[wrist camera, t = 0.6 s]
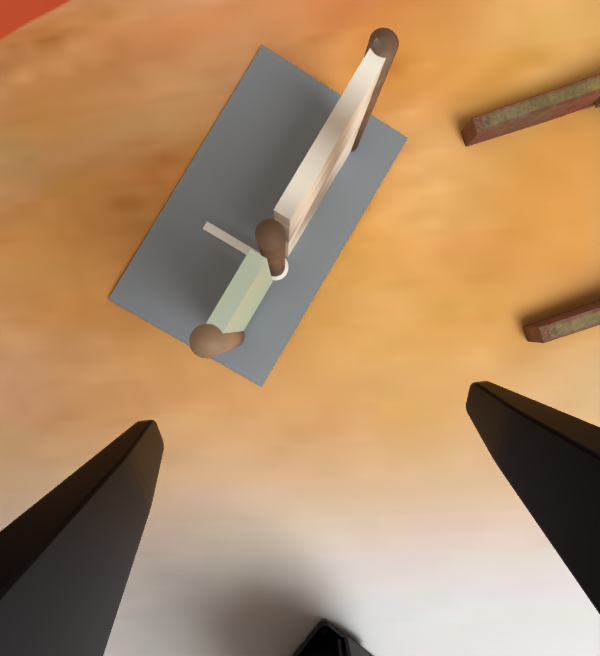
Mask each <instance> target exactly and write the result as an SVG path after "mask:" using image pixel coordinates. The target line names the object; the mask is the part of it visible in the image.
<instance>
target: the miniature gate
mask: <svg viewBox="0 0 600 656" xmlns="http://www.w3.org/2000/svg"><path fill="white" fill-rule="evenodd" d="M593 105H595V107H596V108H597V107H600V74H599V75H596V76H593V77H590V78H587V79H584V80H581V81H578V82H576V83H573V84H570V85H567V86H564V87H561V88H558V89H555V90H553V91H550V92H547V93H544V94H541V95H538V96H535V97H532V98H529V99H527V100H524V101H521V102H518V103H515V104H512V105H509V106H506V107H504V108H501V109H498V110H495V111H492V112H489V113H486V114H483V115H480V116H478V117H475V118H472V119H471V121H470V122H469V123H468V124H467V125H466V127H465V128H464V129H463V130H462V131H461V133H462V136H463V139H464V142H465V145H466V147H467V146H470V145H473V144H476V143H479V142H483V141H486V140H489V139H492V138H495V137H499V136H502V135H505V134H508V133H511V132H515V131H518V130H521V129H524V128H527V127H530V126H534V125H537V124H540V123H543V122H546V121H549V120H552V119H555V118H558V117H561V116H564V115H567V114H569V113H572V112H575V111H578V110H581V109H584V108H587V107H590V106H593ZM597 325H600V300H599V301H596V302H593V303H590V304H587V305H584V306H581V307H579V308H576V309H573V310H570V311H567V312H564V313H561V314H559V315H556V316H553V317H550V318H547V319H544V320H542V321H539V322H536V323H533V324H530V325H527V326H524V327H523V328H524V331H525V334H526V337H527V340H528V341H529V342H539V343H545V342H548V341H551V340H554V339H557V338H560V337H564V336H567V335H570V334H573V333H576V332H579V331H582V330H585V329H588V328H591V327H594V326H597Z"/></svg>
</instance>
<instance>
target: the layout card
mask: <svg viewBox="0 0 600 656" xmlns="http://www.w3.org/2000/svg"><path fill="white" fill-rule="evenodd" d="M340 97H341V95H340V94H338V93H337V92H335V91H333V90H332V89H330V88H329V87H327V86H326V85H324V84H323V83H321V82H319V81H318V80H316V79H315V78H313V77H312V76H310V75H308V74H307V73H305V72H304V71H302V70H301V69H299V68H298V67H296V66H294V65H293V64H291V63H290V62H288V61H287V60H285V59H283V58H282V57H280V56H279V55H277V54H276V53H274V52H273V51H271V50H269V49H268V48H266V47H265V46H263V45H262V46H261V48H260V50H259V51H258V53H257V55H256V56H255V58H254V59H253V61H252V63H251V64H250V66H249V68H248V69H247V71H246V73H245V74H244V76H243V78H242V79H241V81H240V83H239V84H238V86H237V88H236V89H235V91H234V92H233V94H232V96H231V97H230V99H229V101H228V102H227V104H226V106H225V107H224V109H223V111H222V112H221V114H220V116H219V117H218V119H217V121H216V122H215V124H214V125H213V127H212V129H211V130H210V132H209V134H208V135H207V137H206V139H205V140H204V142H203V144H202V145H201V147H200V149H199V150H198V152H197V154H196V155H195V157H194V158H193V160H192V162H191V163H190V165H189V167H188V168H187V170H186V172H185V173H184V175H183V177H182V178H181V180H180V182H179V183H178V185H177V187H176V188H175V190H174V191H173V193H172V195H171V196H170V198H169V200H168V201H167V203H166V205H165V206H164V208H163V210H162V211H161V213H160V215H159V216H158V218H157V220H156V221H155V223H154V224H153V226H152V228H151V229H150V231H149V233H148V234H147V236H146V238H145V239H144V241H143V243H142V244H141V246H140V248H139V249H138V251H137V253H136V254H135V256H134V257H133V259H132V261H131V262H130V264H129V266H128V267H127V269H126V271H125V272H124V274H123V276H122V277H121V279H120V281H119V282H118V284H117V286H116V287H115V289H114V290H113V292H112V294H111V295H110V297H109V300H110V301H112V302H114V303H116V304H117V305H119V306H121V307H123V308H124V309H126V310H128V311H130V312H131V313H133V314H135V315H137V316H138V317H140V318H142V319H144V320H145V321H147V322H149V323H151V324H152V325H154V326H156V327H158V328H159V329H161V330H163V331H165V332H166V333H168V334H170V335H172V336H173V337H175V338H177V339H179V340H180V341H182V342H184V343H186V344H187V345H189V346H190V344H189V338H190V334H191V332H192V331H193V330H194V329H195V328H196V327H197V326H199V325H201V324H206V322H207V321H208V319H209V317H210V316H211V314H212V312H213V311H214V309H215V307H216V306H217V304H218V302H219V301H220V299H221V297H222V296H223V294H224V292H225V291H226V289H227V287H228V286H229V284H230V282H231V280H232V279H233V277H234V275H235V274H236V272H237V270H238V269H239V267H240V265H241V264H242V262H243V260H244V259H245V257H246V255H247V254H248V252H249V250H250V249H251V250H253V251H255V252H256V253H258V254H260V251H259V247H258V244H257V241H256V238H255V230H256V227H257V226H258V224H259V223H260V222H262V221H263V220H266V219H274V208H275V207H276V205H277V203H278V202H279V200H280V198H281V197H282V195H283V193H284V191H285V190H286V188H287V186H288V185H289V183H290V181H291V180H292V178H293V176H294V175H295V173H296V171H297V170H298V168H299V166H300V165H301V163H302V161H303V160H304V158H305V156H306V155H307V153H308V151H309V150H310V148H311V146H312V144H313V143H314V141H315V139H316V138H317V136H318V134H319V133H320V131H321V129H322V128H323V126H324V124H325V123H326V121H327V119H328V118H329V116H330V114H331V113H332V111H333V109H334V108H335V106H336V104H337V103H338V101H339V99H340ZM406 140H407V137H405V136H404V135H402V134H401V133H399V132H398V131H396V130H394V129H393V128H391V127H390V126H388V125H387V124H385V123H383V122H382V121H380V120H379V119H377V118H376V117H374V116H373V115H370V118H369V120H368V123H367V125H366V127H365V130H364V132H363V135H362V137H361V140H360V142H359V145H358V147H357V149H356V150H355V151H353V152H350V153H349V155H348V157H347V158H346V160H345V162H344V164H343V165H342V167H341V169H340V170H339V172H338V174H337V175H336V177H335V179H334V180H333V182H332V184H331V186H330V187H329V189H328V191H327V192H326V194H325V196H324V197H323V199H322V201H321V202H320V204H319V206H318V207H317V209H316V211H315V213H314V214H313V216H312V218H311V219H310V221H309V223H308V224H307V226H306V228H305V229H304V231H303V233H302V235H301V236H300V238H299V240H298V241H297V243H296V245H295V246H294V248H293V250H292V251H291V253H290V255H289V257H286V256H285V270H284V272H283V273H282V274H281V275H280V276H277V277H273V276H271V277H272V281H273V282H272V284H271V286H270V287H269V289H268V291H267V292H266V294H265V296H264V297H263V299H262V301H261V303H260V304H259V306H258V308H257V309H256V311H255V313H254V314H253V316H252V318H251V319H250V321H249V323H248V324H247V326H246V328H245V330H244V333H245V338H244V341H243V343H242V344H241V345H239V346H237V347H235V348H233V349H230V350H228V351H226V352H224V353H221V354H219V355H217V356H214V357H211V358H212V359H214V360H215V361H217V362H219V363H221V364H222V365H224V366H226V367H228V368H229V369H231V370H233V371H235V372H236V373H238V374H240V375H242V376H243V377H245V378H247V379H249V380H250V381H252V382H254V383H256V384H257V385H259V386H261V387H262V385H263V383H264V382H265V380H266V378H267V377H268V375H269V373H270V371H271V370H272V368H273V366H274V365H275V363H276V361H277V359H278V358H279V356H280V354H281V353H282V351H283V349H284V348H285V346H286V344H287V342H288V341H289V339H290V337H291V336H292V334H293V332H294V331H295V329H296V327H297V325H298V324H299V322H300V320H301V319H302V317H303V315H304V314H305V312H306V310H307V308H308V307H309V305H310V303H311V302H312V300H313V298H314V296H315V295H316V293H317V291H318V290H319V288H320V286H321V285H322V283H323V281H324V279H325V278H326V276H327V274H328V273H329V271H330V269H331V268H332V266H333V264H334V262H335V261H336V259H337V257H338V256H339V254H340V252H341V250H342V249H343V247H344V245H345V244H346V242H347V240H348V239H349V237H350V235H351V233H352V232H353V230H354V228H355V227H356V225H357V223H358V222H359V220H360V218H361V216H362V215H363V213H364V211H365V210H366V208H367V206H368V204H369V203H370V201H371V199H372V198H373V196H374V194H375V193H376V191H377V189H378V187H379V186H380V184H381V182H382V181H383V179H384V177H385V176H386V174H387V172H388V170H389V169H390V167H391V165H392V164H393V162H394V160H395V158H396V157H397V155H398V153H399V152H400V150H401V148H402V147H403V145H404V143H405V141H406ZM260 255H261V254H260Z"/></svg>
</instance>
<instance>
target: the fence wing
mask: <svg viewBox="0 0 600 656" xmlns="http://www.w3.org/2000/svg"><path fill="white" fill-rule="evenodd" d="M272 282H273V281H272V277H271V273H270V269H269V265H268V261H267V258H265V257H263V256H261V255H260V254H258V253H256V252H255V251H253V250H251V249H250V250H249V252H248V254H247V255H246V257H245V259H244V260H243V262H242V264H241V265H240V267H239V269H238V270H237V272H236V274H235V275H234V277H233V279H232V280H231V282H230V284H229V286H228V287H227V289H226V291H225V292H224V294H223V296H222V297H221V299H220V301H219V302H218V304H217V306H216V307H215V309H214V311H213V312H212V314H211V316H210V317H209V319H208V321H207V322H206V324H201V325H199V326H197V327H196V328H195V329H194V330H193V331H192V332H191V334H190V338H189V344H190V347H191V349H192V351H193V352H194V353H195V354H196V355H197V356H199V357H202V358H211V357H214V356H217V355H219V354H221V353H224V352H226V351H228V350H230V349H233V348H235V347H237V346H239V345H241V344H242V343H243V341H244V338H245V333H244V330H245V328H246V326H247V324H248V323H249V321H250V319H251V318H252V316H253V314H254V313H255V311H256V309H257V308H258V306H259V304H260V303H261V301H262V299H263V297H264V296H265V294H266V292H267V291H268V289H269V287H270V286H271V284H272Z"/></svg>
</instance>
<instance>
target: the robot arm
mask: <svg viewBox="0 0 600 656" xmlns="http://www.w3.org/2000/svg"><path fill="white" fill-rule="evenodd" d="M466 410H467V413H468V415H469V416H470V418H471V420H472V422H473V424H474V425H475V427H476V429H477V431H478V433H479V434H480V436H481V438H482V440H483V442H484V443H485V445H486V447H487V449H488V451H489V452H490V454H491V456H492V457H493V459H494V461H495V462H496V464H497V465H498V467H499V468H500V470H501V471H502V473H503V474H504V476H505V477H506V479H507V480H508V482H509V483H510V484H511V486H512V487H513V489H514V490H515V492H516V493H517V495H518V496H519V498H520V499H521V500H522V502H523V503H524V505H525V506H526V508H527V509H528V511H529V512H530V514H531V515H532V516H533V518H534V519H535V521H536V522H537V524H538V525H539V527H540V528H541V530H542V531H543V532H544V534H545V535H546V537H547V538H548V540H549V541H550V543H551V544H552V546H553V547H554V548H555V550H556V551H557V553H558V554H559V556H560V557H561V559H562V560H563V562H564V563H565V564H566V566H567V567H568V569H569V570H570V572H571V573H572V575H573V576H574V578H575V579H576V580H577V582H578V583H579V585H580V586H581V588H582V589H583V591H584V592H585V594H586V595H587V596H588V598H589V599H590V601H591V602H592V604H593V605H594V607H595V608H596V610H597V611H598V612H599V614H600V427H598V426H595V425H593V424H590V423H588V422H585V421H583V420H581V419H578V418H576V417H573V416H571V415H568V414H566V413H564V412H561V411H559V410H556V409H554V408H552V407H549V406H547V405H544V404H542V403H539V402H537V401H535V400H532V399H530V398H527V397H525V396H522V395H520V394H518V393H515V392H513V391H510V390H508V389H506V388H503V387H501V386H498V385H496V384H493V383H491V382H488V381H481V382H474V383H472V384H471V385H470V389H469V393H468V397H467V402H466ZM163 449H164V443H163V439H162V437H161V434H160V431H159V429H158V426H157V424H156V422H155V421H154V420H145V421H139V422H137V423H135V424H134V425H133V426H131V427H130V428H129V429H128V430H127V431H125V432H124V433H123V434H122V435H120V436H119V437H118V438H117V439H115V440H114V441H113V442H112V443H110V444H109V445H108V446H107V447H105V448H104V449H103V450H102V451H100V452H99V453H98V454H97V455H95V456H94V457H93V458H92V459H90V460H89V461H88V462H87V463H85V464H84V465H83V466H82V467H80V468H79V469H78V470H77V471H75V472H74V473H73V474H72V475H70V476H69V477H68V478H67V479H65V480H64V481H63V482H62V483H60V484H59V485H58V486H57V487H55V488H54V489H53V490H52V491H50V492H49V493H48V494H47V495H45V496H44V497H43V498H42V499H40V500H39V501H38V502H37V503H35V504H34V505H33V506H32V507H30V508H29V509H28V510H27V511H25V512H24V513H23V514H22V515H20V516H19V517H18V518H17V519H15V520H14V521H13V522H12V523H10V524H9V525H8V526H7V527H5V528H4V529H3V530H2V531H0V656H103V654H104V651H105V648H106V645H107V641H108V638H109V635H110V632H111V629H112V626H113V623H114V620H115V617H116V614H117V611H118V608H119V604H120V601H121V598H122V595H123V592H124V589H125V586H126V583H127V580H128V577H129V574H130V571H131V568H132V564H133V561H134V558H135V555H136V552H137V549H138V546H139V543H140V540H141V537H142V534H143V531H144V527H145V524H146V521H147V518H148V515H149V512H150V508H151V505H152V501H153V496H154V492H155V487H156V482H157V478H158V473H159V468H160V464H161V459H162V454H163ZM324 628H326V629H324ZM293 656H371V655H370V654H369V653H368V652H367V651H366V650H364V649H363V648H362V647H361V646H359V645H358V644H357V643H356V642H354V641H353V640H352V639H351V638H349V637H348V636H346V635H344V634H343V633H342V632H341V631H339V630H338V629H337V628H336V627H334V626H333V625H332V624H330V623H329V622H328V621H321V622H320V623H319V624H318V626H317V627H316V628H315V629H314V630H313V632H312V633H311V634H310V635H309V637H308V638H307V639H306V640H305V641H304V643H303V644H302V645H301V646H300V648H299V649H298V650H297V651H296V653H295V654H294V655H293Z"/></svg>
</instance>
